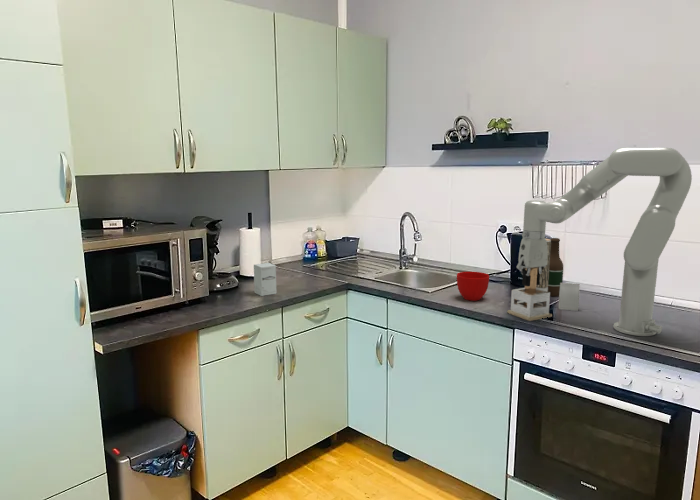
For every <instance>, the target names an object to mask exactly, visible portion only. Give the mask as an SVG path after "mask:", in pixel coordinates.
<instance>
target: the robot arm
mask: <svg viewBox="0 0 700 500" xmlns="http://www.w3.org/2000/svg"><path fill="white" fill-rule="evenodd" d="M628 176H629V177H630V176H633V177H634V176H635V177H659V183H658V185H657V187H656V189H655V191H654V194H653V196H652V198H651V199H650V202H649V204H648V206H647V207H646V209H645V210H644V212H643V213H642V214H641V216H640V218H639V220H638V222H637V224H636V226H635V229H634V230H633V233H632V234H631V236H630V238H629V240H628V242H627V244H626V246H625V248H624V250H623V260H624V264H623V265H624V267H623V275H622V284H621V285H622V286H621V295H620V296H621V297H620V307H619V309H620V310H619V317H618V319H619V320H618V321H616V322H614V323H613V328H614V330H615V331H617V332H620V333H621V334H622V333H623V334H626V335H630V336H639V337H650V336H654V335H656V334H661V333H662V331H663V325H657V324H656V319H653V315H654V304H655V294H656V286H657V277H658V267H659V259H660V257H661V255H662V253H663V251H664V249H665V247H666V246H667V243H668V241H669V240H670V238H671V236H672V234H673V231H674V229H675V226H676V220H677V218H678V215H679V214H680V211H681V209H682V207H683V204H684V202H685V200H686V198H687V196H688V194H689V191H690V189H691V186H692V179H693V178H692V176H693V175H692V170H691V166H690V165H689V163H688V161H687V160H686V158H685V157H684V156H683V155H682V154H681V153H680V152H679V151H678V150H677V149H674V148H671V147H619V148H617V149H615V150H614V151H613V152H611V153H610V155H609V156H608V157H607V158H605V159H604V160H603V161H601V162H600V163H599V164H598V165H596V167H594V168H593V169H591V170H590V171H589V172H587V173H586V174H585V175H584V176H583V177H581V179H580V180H579V181H578V183H577V184H576V185H575V186H573V188H572V189H570V190H569V191H568V192H567V193H566V192H565V194H564V195H563V196H562V197H560V198H558V199H557V200H556V201H555V200H554V201H550V202H549V201H548V202H546V201H544V200H527V201H526V202H525V203H524V210H523V211H524V212H523V226H522V227H523V228H522V233H521V236H522V239H521V241H520V246H519V252H518V263H517V265H516V269H517V270H519V272H520V273H521V275H522V279H521V280H522V281H521V285H523V286H524V287H525V286H530V276H529V274H530V269H531V268H535V267H538V270H537V285H539V284H540V274H541V273H542V270H543V269H544V267H545V266H546V265H547V258H548V250H547V241H546V239H547V238H546V229H547V226H546V225H547V223H551V224H562V223H563V222H565V221H567V220H568V219H570V218H571V217H572V216H574V215H575V214H576V213H578V212H579V211H580V210H582V209H583V208H584V207H586V206H587V205H588V204H590V203H592V202H593V201H594V200H596V199H599V197H601V196H602V195H605V193H606V192H608V191H610V190H611V189H612V188H613V187H614V186H616V185H618V183H620V182H621V181H623V180H624V179H625V178H626V177H628ZM545 238H546V239H545ZM526 268H527V271H526Z"/></svg>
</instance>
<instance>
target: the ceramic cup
mask: <svg viewBox="0 0 700 500" xmlns="http://www.w3.org/2000/svg"><path fill="white" fill-rule="evenodd" d="M489 283H490V275H489V274H488V273H485V272H481V271H460V272H458V273H456V284H457V285H456V286H457V289H458V292H459V293H460V295H461V296H462V298H463V299H464V300H466V301H475V302H476V301H479V300H481V299H482V298H483V297H484V296H485V294H486V293H487V291H488V287H489Z"/></svg>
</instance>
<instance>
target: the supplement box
mask: <svg viewBox="0 0 700 500" xmlns="http://www.w3.org/2000/svg"><path fill="white" fill-rule="evenodd" d="M253 281H254V282H253V283H254V284H253V286H254V288H253V289H254V290H253V291H254V293H255V294H256V295H257V296H259V297H264V296H270V295H276V294H278V293H277V265H276V264H273V263H270V262H266V263H257V264H253Z"/></svg>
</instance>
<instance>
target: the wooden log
mask: <svg viewBox="0 0 700 500" xmlns="http://www.w3.org/2000/svg"><path fill="white" fill-rule="evenodd" d="M545 239H546V241H547V250H548V258H547V265H546V266H545V267H544V269H543V270H542V273H541V274H540V284H539V285H536V289H540V290H543V291H547V292H548V279H549V263H550V248H551V239H552V238H546V237H545Z"/></svg>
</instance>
